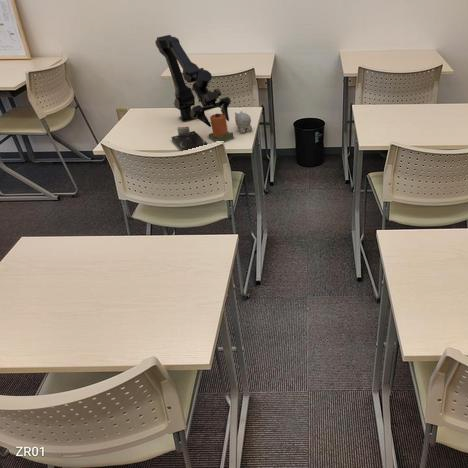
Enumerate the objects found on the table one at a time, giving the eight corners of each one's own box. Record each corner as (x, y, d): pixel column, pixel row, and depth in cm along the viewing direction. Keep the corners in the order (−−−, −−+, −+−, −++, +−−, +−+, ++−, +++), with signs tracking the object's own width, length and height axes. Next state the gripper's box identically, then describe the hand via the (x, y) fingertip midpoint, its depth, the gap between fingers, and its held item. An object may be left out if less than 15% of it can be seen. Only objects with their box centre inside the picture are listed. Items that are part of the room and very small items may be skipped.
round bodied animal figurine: (245, 123, 233) (243, 106, 228) (254, 131, 224) (252, 114, 219) (231, 126, 230) (229, 109, 225) (239, 135, 221) (237, 117, 216)
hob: (170, 139, 221) (169, 135, 220) (193, 133, 225) (192, 129, 224) (185, 155, 207) (184, 150, 206) (209, 148, 211) (208, 144, 210)
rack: (208, 137, 220) (207, 131, 219) (223, 132, 224) (222, 126, 223) (218, 143, 215) (217, 137, 213) (233, 138, 219) (233, 132, 217)
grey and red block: (178, 136, 218) (177, 128, 216) (179, 134, 220) (178, 126, 217) (189, 136, 218) (187, 127, 215) (190, 134, 219) (188, 126, 217)
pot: (210, 134, 219) (206, 114, 213) (223, 129, 222) (220, 110, 217) (217, 138, 215) (214, 118, 209) (230, 134, 218) (227, 114, 212)
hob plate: (176, 142, 213) (176, 141, 213) (199, 136, 218) (199, 135, 217) (185, 150, 206) (184, 149, 206) (208, 144, 210) (208, 143, 210)
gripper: (188, 89, 204) (205, 121, 203) (225, 78, 213) (242, 109, 213) (183, 102, 214) (199, 133, 213) (219, 92, 223) (235, 121, 222)
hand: (219, 123), depth 215 cm, fingers open, 9 cm apart
